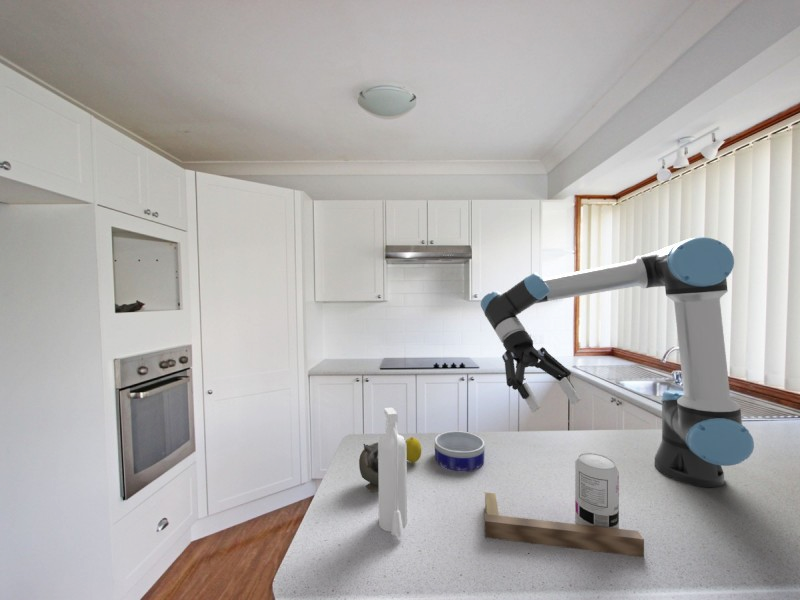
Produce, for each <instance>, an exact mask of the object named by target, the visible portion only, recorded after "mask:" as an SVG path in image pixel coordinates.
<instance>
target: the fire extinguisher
mask: <svg viewBox="0 0 800 600" xmlns="http://www.w3.org/2000/svg"><path fill="white" fill-rule="evenodd" d="M383 409H384V415H385V418H386V421H385V434H384V435H382V436H380V438H379V440H378V478H379V493H378V524H379V527H380V528H381V529H382V530H383V531H385V532H390V533H391V535H392V536H396V537H401V536H402V535H403V534H404V532H405V531H404V529H405V528H406V526H407V525H408V486H407V485H408V473H407V471H408V470H407V469H408V468H407V466H408V464H407V463H408V462H407V445H406V442H405V441H406V440H405V438H404V436H403V435H401V434H399V433H398V426H397V423H399V419H398V413H397V411H396V410H395V409H394V407H384V408H383Z"/></svg>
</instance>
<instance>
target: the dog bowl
mask: <svg viewBox="0 0 800 600" xmlns="http://www.w3.org/2000/svg"><path fill="white" fill-rule="evenodd" d="M485 445H486V443H485V441H484V439H483V438H482V437H480V436H478V435H476V434H474V433H471V432H467V431H460V430H451V431H450V430H449V431H446V432H445V431H444V432H442V433H439V434H438V435H436V436H435V438H434V457H435V459H434V460H435V462H436V463H437V464H438V465H439V466H440V467H442V468H443V469H447V470H449V471H453V472H461V473H462V472H463V473H465V472H473V471H477V470H479V469H481V468H482V467H483V466H484V464H485V447H486V446H485Z"/></svg>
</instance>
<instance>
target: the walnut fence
mask: <svg viewBox="0 0 800 600" xmlns="http://www.w3.org/2000/svg"><path fill="white" fill-rule="evenodd" d="M484 496H485V497H484V505H485V506H484V508H485V513H484V538H486V539H495V540H502V541H504V540H505V541H509V542H510V541H511V542H519V543H527V544H536V545H543V546H550V547H551V546H552V547H559V548H565V549H566V548H567V549H569V548H570V549H574V550H584V551H593V552H599V553H608V554H614V555H615V554H617V555H623V556H631V557H632V556H634V557H639V558H640V557H641V558H645V539H644V537H643V536H642V535H641V533H640V532H639V531H638V530H632V529H625V528H619V529H616V528H607V527H598V526H589V525H580V524H577V523H569V522H561V521H551V520H544V519H543V520H541V519H533V518H526V517H525V518H524V517H518V516H517V517H514V516H506V515H500V514H499V507H498V500H497V494H496V493H494V492H486V491H485V492H484Z"/></svg>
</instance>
